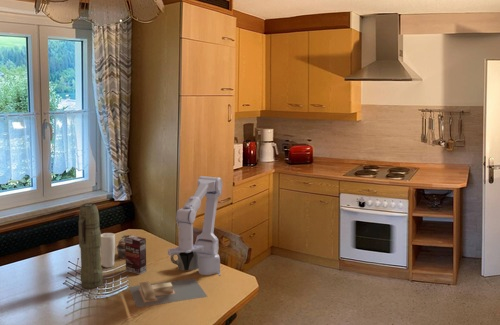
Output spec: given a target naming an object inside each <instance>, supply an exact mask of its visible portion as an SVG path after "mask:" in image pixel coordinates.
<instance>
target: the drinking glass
mask: <svg viewBox="0 0 500 325" xmlns="http://www.w3.org/2000/svg"><path fill="white" fill-rule="evenodd" d="M115 253H116V235H115V233H113V232H104V233H101V246H100V256H101V261H102V262H101V265H102V267H103V268H112V267H114V266H115Z"/></svg>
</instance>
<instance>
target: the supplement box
mask: <svg viewBox="0 0 500 325" xmlns="http://www.w3.org/2000/svg"><path fill="white" fill-rule="evenodd" d="M130 235H131V236H128V235H127V236H128V237H126V238H125V256H126V259H125V271H126V272H129V273H134V274H137V275H142V274H143V273H145V272H147V239H146V237H141V236H136V235H133V234H130Z"/></svg>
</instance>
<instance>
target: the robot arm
mask: <svg viewBox="0 0 500 325" xmlns="http://www.w3.org/2000/svg"><path fill="white" fill-rule="evenodd" d="M196 186H197V188H196V190H195V192H194V194H193V195H192V196H190V197H188V198H187V200H186V202H185V203H184V205H183V206H182V208H179V209H178V210H176V212H175V221H176V226H177V227H178V246H177V247H173V248H168V249H167V255H168V256H171V255H172V254H179V255H180V257H181V259H182V262H183V265H184V269H185V270H184V271H187V270H189V265H190V262H191V260H192V258H193V256H194V254H193V252H195V253H197V255H198V274H199V275H202V276H210V275H214V274H217V275H218V276H221V259H220V258H221V257H220V254H218V252H219V249H220V248H219V238H218V237H217V236H216V235H215V233H214V232H215V231H214V230H215V223H216V222H215V221H216V215H217V208H218V207H217V206H218V201H219V200H218V199H219V197H221V196H222V191H223V186H224V184H223V180H222V178H221V177H218V176H217V177H215V176H214V177H213V176H205V175H200V176H198V179H197V185H196ZM204 197H206V202H205V209H204V217H203V223H202V232H201V233H200V234H198V235H197V236H196V239H195V242H194V224H193V223H194V222H195V221H196V217H197V211H198V210H199V209H200V207H201V206H202V202H201V201H202V200H203V198H204ZM193 244H194V246H193Z"/></svg>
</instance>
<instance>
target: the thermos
mask: <svg viewBox="0 0 500 325" xmlns="http://www.w3.org/2000/svg"><path fill="white" fill-rule="evenodd" d="M78 216H79V219H78V221H77V222H78V226H77V227H78V228H77V229H78V246H79V249H80V264H81V265H80V266H81V268H80V271H79V276H80V283H81V284H80V285H81V286H80V287H81V288H82V289H85V290H93V289H98V288H100V287H102V286H103V284H102V283H103V268H102V267H103V266H102V262H101V261H102V255H101V247H100V246H101V234H102V232H101V226H100V214H99V210H98V207H97V205H96V204H95V203H92V202H90V203H89V202H88V203H83V204H82V205H80V207H79V211H78ZM101 285H102V286H101ZM99 286H100V287H99ZM97 287H98V288H97Z"/></svg>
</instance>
